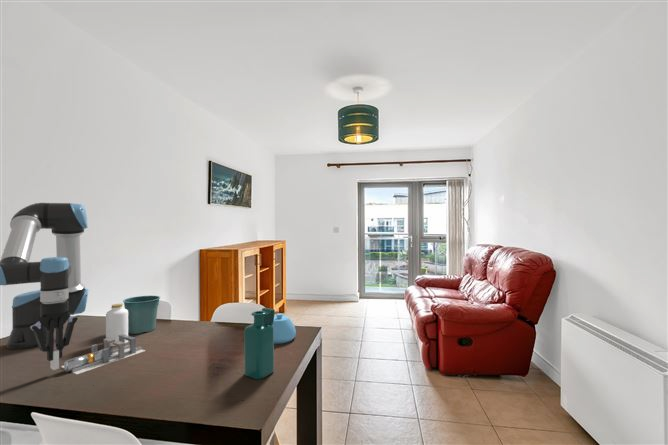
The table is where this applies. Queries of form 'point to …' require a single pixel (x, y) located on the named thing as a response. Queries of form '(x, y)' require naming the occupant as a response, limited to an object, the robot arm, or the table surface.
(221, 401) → the table surface
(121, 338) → the collar board
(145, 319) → the flower pot
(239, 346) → the table surface
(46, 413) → the table surface
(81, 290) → the robot arm
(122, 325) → the potion bottle
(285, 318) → the sugar bowl
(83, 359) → the tube
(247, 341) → the teal bottle
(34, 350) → the table surface
